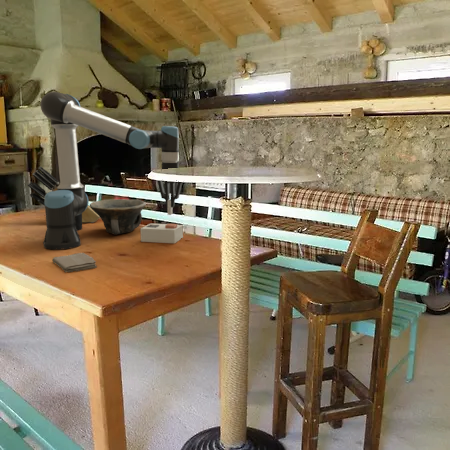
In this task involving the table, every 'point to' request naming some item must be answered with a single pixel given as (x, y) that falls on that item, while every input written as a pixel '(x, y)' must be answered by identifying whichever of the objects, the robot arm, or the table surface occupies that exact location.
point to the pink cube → (171, 226)
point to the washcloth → (75, 262)
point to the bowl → (119, 214)
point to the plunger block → (161, 234)
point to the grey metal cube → (152, 225)
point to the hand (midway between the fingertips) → (170, 214)
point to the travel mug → (78, 222)
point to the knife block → (50, 184)
